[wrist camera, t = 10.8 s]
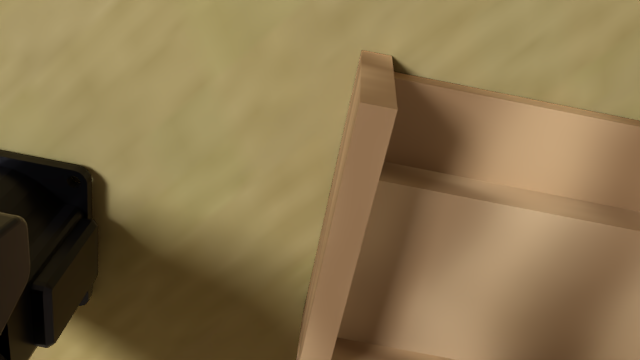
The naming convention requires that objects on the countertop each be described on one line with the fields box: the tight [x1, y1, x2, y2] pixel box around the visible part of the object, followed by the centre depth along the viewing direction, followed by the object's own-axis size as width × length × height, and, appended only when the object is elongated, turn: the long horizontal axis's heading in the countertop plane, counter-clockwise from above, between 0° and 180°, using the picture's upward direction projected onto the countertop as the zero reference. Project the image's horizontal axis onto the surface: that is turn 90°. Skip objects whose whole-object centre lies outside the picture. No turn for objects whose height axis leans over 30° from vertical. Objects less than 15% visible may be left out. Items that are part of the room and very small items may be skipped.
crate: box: [296, 50, 640, 360], centre depth 21 cm, size 18×12×4 cm, turn 80°
